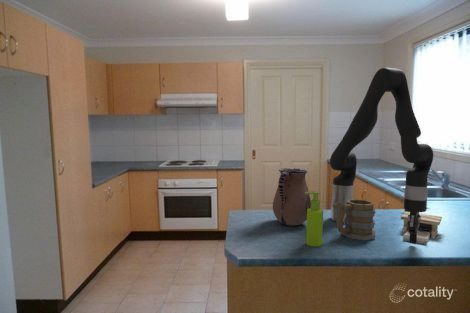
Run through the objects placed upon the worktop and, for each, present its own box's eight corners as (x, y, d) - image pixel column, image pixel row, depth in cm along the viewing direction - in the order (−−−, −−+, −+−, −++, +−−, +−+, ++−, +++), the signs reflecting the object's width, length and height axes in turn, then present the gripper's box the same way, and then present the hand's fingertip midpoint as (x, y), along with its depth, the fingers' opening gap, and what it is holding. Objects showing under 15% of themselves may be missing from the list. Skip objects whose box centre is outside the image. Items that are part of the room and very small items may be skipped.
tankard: (360, 229, 143) (361, 195, 142) (382, 238, 131) (384, 201, 130) (321, 233, 136) (322, 198, 135) (341, 243, 124) (342, 205, 123)
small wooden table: (438, 238, 132) (439, 222, 131) (399, 231, 140) (400, 216, 139) (440, 232, 141) (441, 216, 140) (404, 225, 149) (405, 211, 148)
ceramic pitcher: (314, 220, 155) (316, 168, 153) (304, 233, 136) (305, 173, 134) (278, 216, 163) (279, 166, 160) (264, 227, 143) (265, 171, 141)
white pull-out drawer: (426, 244, 125) (426, 238, 125) (403, 240, 129) (403, 234, 129) (430, 234, 137) (431, 229, 137) (409, 231, 141) (409, 225, 141)
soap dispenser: (301, 241, 126) (303, 190, 125) (318, 241, 127) (320, 190, 125) (306, 246, 121) (307, 193, 119) (324, 246, 121) (326, 193, 119)
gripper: (424, 202, 114) (421, 250, 115) (429, 196, 125) (426, 240, 126) (401, 199, 118) (398, 245, 120) (407, 193, 129) (404, 236, 130)
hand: (412, 242), depth 123 cm, fingers closed
